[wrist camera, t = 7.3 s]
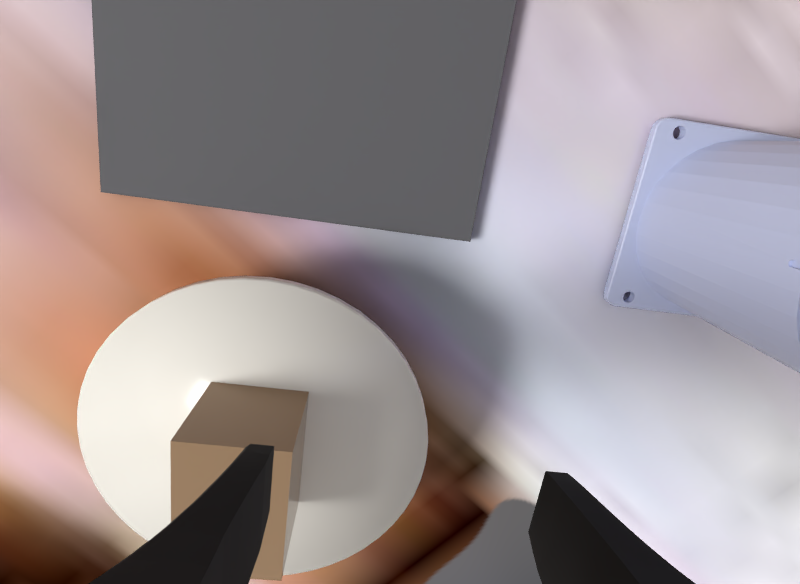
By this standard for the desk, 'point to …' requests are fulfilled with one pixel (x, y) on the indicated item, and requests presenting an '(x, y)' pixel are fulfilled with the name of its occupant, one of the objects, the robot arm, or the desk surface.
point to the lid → (256, 415)
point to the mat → (303, 106)
